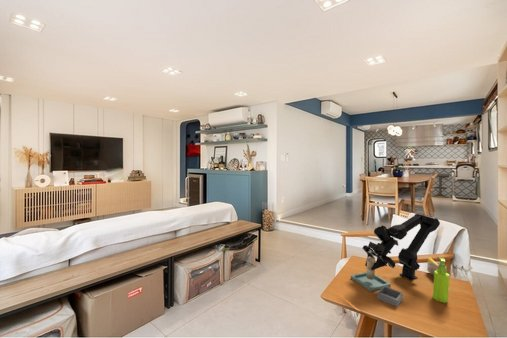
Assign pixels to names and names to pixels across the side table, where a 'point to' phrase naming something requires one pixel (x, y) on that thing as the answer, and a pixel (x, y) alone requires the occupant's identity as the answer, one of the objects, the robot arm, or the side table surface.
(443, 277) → the soap dispenser
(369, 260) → the rounded wooden peg
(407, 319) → the side table surface
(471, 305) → the side table surface
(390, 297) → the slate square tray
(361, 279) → the green-grey tray
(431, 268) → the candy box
